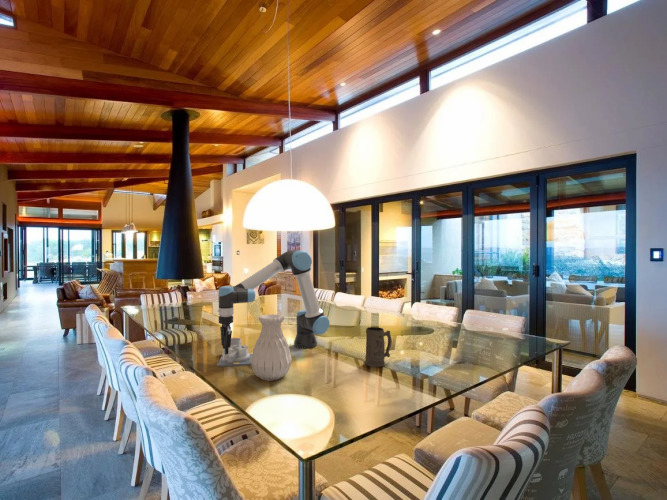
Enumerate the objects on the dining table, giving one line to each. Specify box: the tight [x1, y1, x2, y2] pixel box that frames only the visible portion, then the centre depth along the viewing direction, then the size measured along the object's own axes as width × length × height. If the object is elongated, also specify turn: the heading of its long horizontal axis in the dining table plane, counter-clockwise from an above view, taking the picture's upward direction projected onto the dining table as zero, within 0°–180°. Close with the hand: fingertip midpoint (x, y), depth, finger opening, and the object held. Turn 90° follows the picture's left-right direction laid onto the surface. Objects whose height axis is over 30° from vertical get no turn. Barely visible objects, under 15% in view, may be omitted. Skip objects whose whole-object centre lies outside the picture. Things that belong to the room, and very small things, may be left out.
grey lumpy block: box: [227, 344, 249, 362], centre depth 198 cm, size 20×11×4 cm, turn 178°
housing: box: [216, 347, 253, 368], centre depth 203 cm, size 20×18×8 cm
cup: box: [229, 337, 242, 348], centre depth 216 cm, size 7×10×9 cm
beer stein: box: [364, 326, 393, 368], centre depth 199 cm, size 15×11×20 cm
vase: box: [250, 314, 293, 382], centre depth 178 cm, size 20×20×30 cm
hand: (225, 359), depth 190 cm, fingers closed
